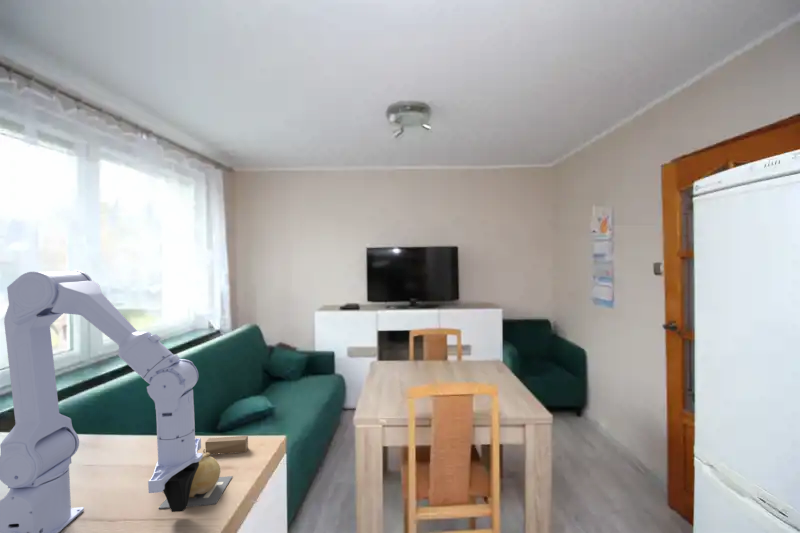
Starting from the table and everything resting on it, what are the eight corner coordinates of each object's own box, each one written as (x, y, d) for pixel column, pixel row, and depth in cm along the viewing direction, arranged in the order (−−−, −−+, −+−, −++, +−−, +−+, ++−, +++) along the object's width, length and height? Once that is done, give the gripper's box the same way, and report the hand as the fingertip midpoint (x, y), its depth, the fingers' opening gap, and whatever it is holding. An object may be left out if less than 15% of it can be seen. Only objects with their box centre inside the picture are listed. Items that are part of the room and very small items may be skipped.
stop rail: (245, 452, 91) (245, 439, 90) (205, 455, 90) (205, 442, 90) (248, 448, 93) (247, 435, 92) (209, 450, 92) (208, 438, 92)
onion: (208, 503, 71) (206, 465, 71) (165, 504, 71) (163, 466, 71) (227, 478, 79) (226, 444, 79) (188, 479, 79) (187, 445, 79)
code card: (215, 504, 71) (215, 502, 71) (158, 508, 70) (158, 507, 70) (232, 477, 80) (232, 475, 80) (182, 480, 79) (182, 479, 79)
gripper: (180, 451, 61) (183, 536, 61) (216, 414, 75) (218, 483, 75) (132, 454, 60) (136, 540, 60) (178, 416, 75) (180, 486, 75)
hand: (179, 509), depth 68 cm, fingers closed
